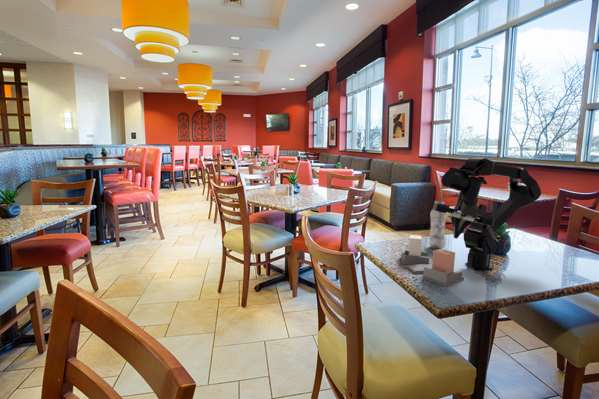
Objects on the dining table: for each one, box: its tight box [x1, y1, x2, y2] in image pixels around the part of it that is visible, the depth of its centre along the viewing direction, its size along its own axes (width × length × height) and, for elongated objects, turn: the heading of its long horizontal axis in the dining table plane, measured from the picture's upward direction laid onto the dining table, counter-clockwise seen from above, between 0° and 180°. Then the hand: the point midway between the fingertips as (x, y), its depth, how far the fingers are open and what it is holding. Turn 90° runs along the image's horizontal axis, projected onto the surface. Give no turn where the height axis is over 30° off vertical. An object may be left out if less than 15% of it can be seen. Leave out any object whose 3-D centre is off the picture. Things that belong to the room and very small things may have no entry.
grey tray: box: [400, 246, 465, 288], centre depth 119 cm, size 13×30×4 cm, turn 9°
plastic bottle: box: [428, 200, 448, 250], centre depth 144 cm, size 6×7×20 cm
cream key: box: [408, 234, 423, 256], centre depth 127 cm, size 4×5×8 cm
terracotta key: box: [432, 248, 456, 275], centre depth 109 cm, size 4×5×8 cm
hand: (455, 238), depth 117 cm, fingers closed
